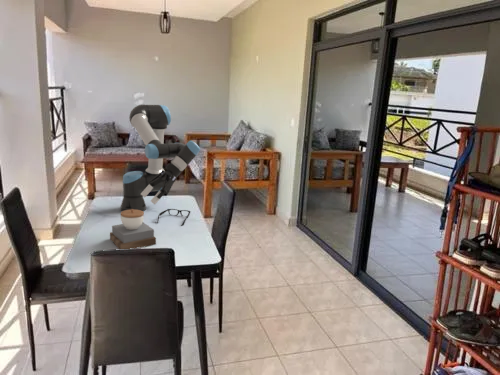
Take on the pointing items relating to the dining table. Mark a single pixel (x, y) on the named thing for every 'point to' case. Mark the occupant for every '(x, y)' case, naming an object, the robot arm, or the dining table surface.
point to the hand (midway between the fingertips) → (147, 199)
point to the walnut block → (132, 244)
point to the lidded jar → (132, 218)
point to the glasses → (175, 215)
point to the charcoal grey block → (132, 233)
